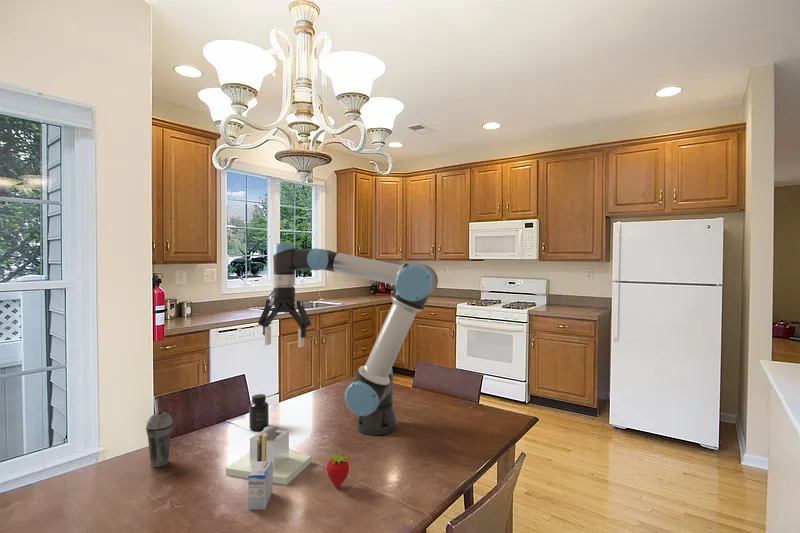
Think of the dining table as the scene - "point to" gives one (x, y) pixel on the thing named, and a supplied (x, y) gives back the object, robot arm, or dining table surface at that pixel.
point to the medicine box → (260, 485)
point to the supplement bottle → (259, 413)
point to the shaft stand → (280, 474)
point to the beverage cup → (159, 437)
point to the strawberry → (337, 470)
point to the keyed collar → (270, 448)
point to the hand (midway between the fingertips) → (284, 345)
